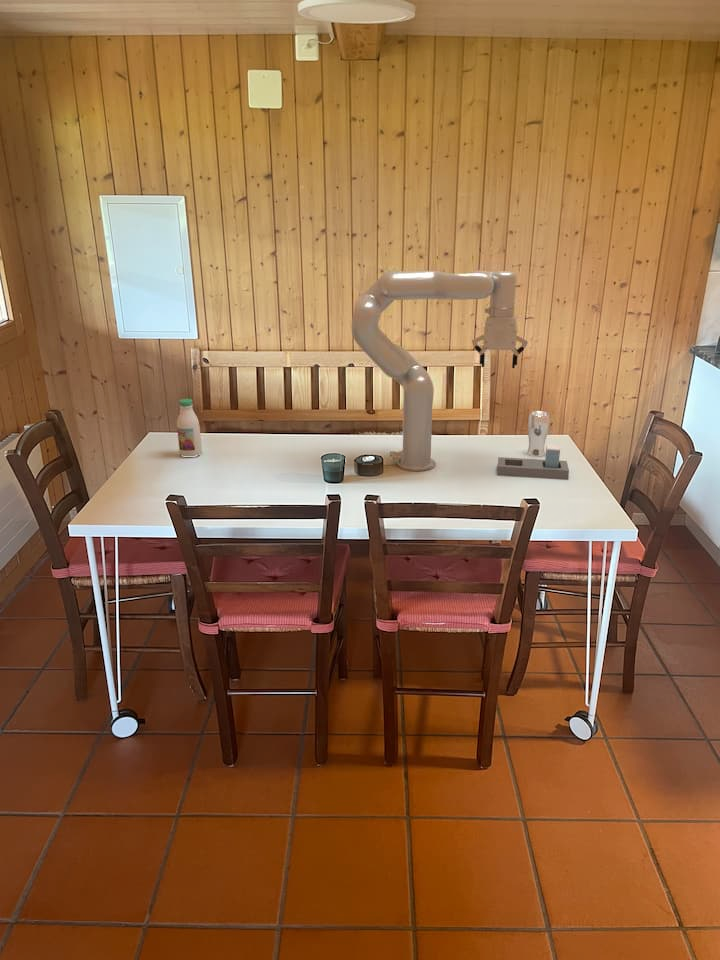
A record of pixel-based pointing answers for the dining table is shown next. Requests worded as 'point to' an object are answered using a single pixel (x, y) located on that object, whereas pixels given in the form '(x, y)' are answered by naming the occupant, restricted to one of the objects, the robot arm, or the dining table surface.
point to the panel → (531, 468)
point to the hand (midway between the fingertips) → (498, 366)
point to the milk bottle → (188, 430)
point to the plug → (552, 456)
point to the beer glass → (537, 432)
